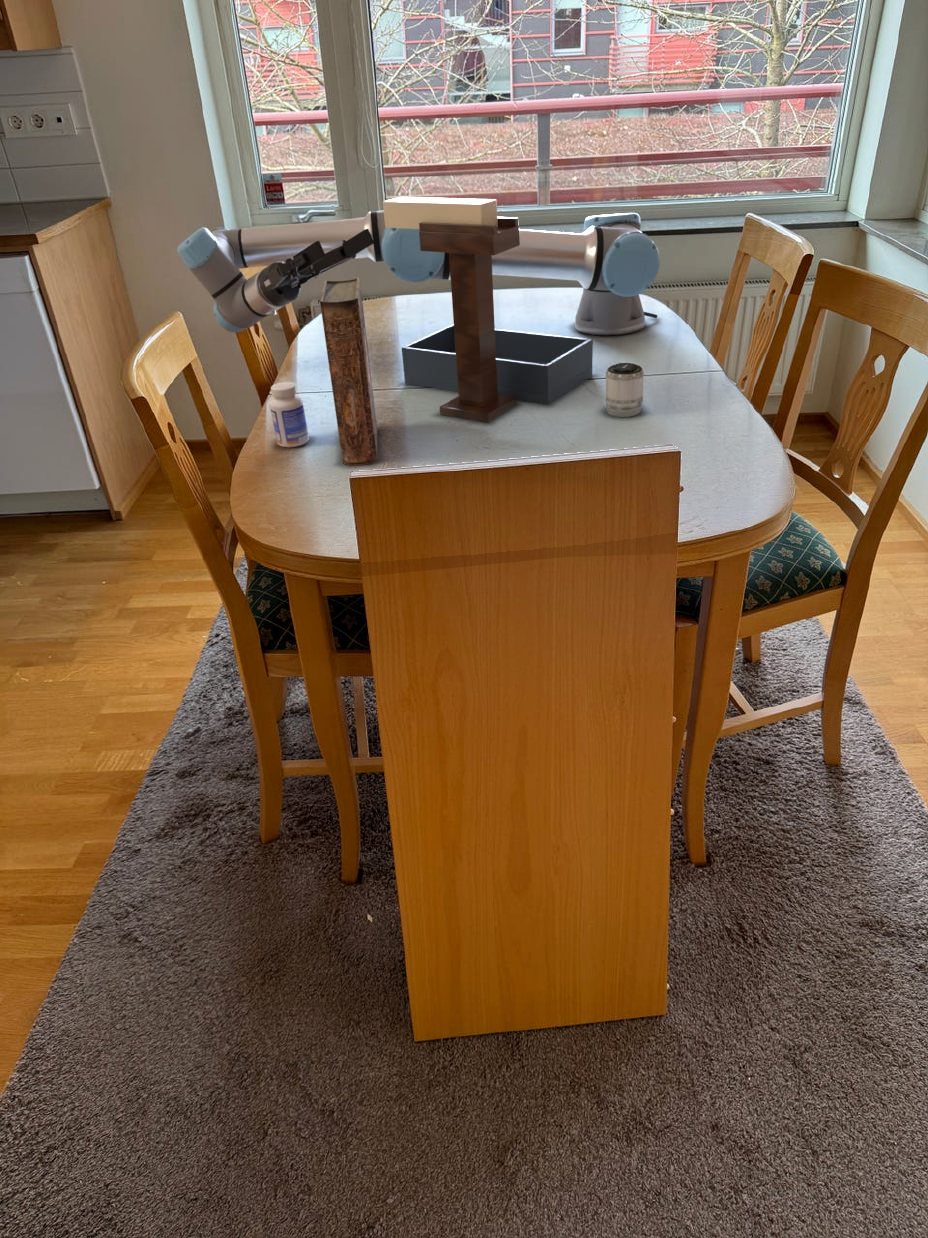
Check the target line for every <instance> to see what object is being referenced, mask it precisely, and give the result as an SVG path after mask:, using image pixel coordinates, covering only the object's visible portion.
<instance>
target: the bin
mask: <svg viewBox="0 0 928 1238" xmlns="http://www.w3.org/2000/svg"><path fill="white" fill-rule="evenodd" d="M593 344H594V339H593V338H584V337H575V336H566V335H556V334H547V333H539V332H530V331H529V332H528V331H519V330H510V329H502V328H501V329H500V328H495V345H496V368H497V390H498V394H504V395H510V396H517V402H526V403H531V404H538V405H545V406H550V405H551V404H552V403H555V401H557V400H559V399H560V398H562V397H563V396H565V395H566V394H568V393H569V392H571V391H572V390H574V389H575V388H577V387H579V386H580V385H581V384H583V383H584V382H585V381H587V380H589V379H590V378H592V377H593V357H594V356H593V353H594V352H593V351H594V349H593V347H594V345H593ZM401 356H402V366H403V377H404V384H405V385H411V386H417V387H423V388H431V389H437V390H444V391H451V392H452V391H453V392H457V393H458V379H457V365H456V350H455V335H454V323H453V324H450V325H447V326H445V327H443V328H442V329H439V330H437V331H435V332H433V333H431V334H428V335H426V336H424V337H422V338H420V339H417V340H415V341H413V342H411V343H408V344H407V345H404V346H403V347H401Z"/></svg>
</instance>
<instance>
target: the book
mask: <svg viewBox="0 0 928 1238" xmlns="http://www.w3.org/2000/svg"><path fill="white" fill-rule="evenodd" d="M319 305H320V312H321V320H322V326H323V332H324V333H323V334H324V341H325V346H326V347H325V348H326V354H327V360H328V369H329V374H330V383H331V389H332V395H333V403H334V411H335V417H336V424H337V425H336V426H337V432H338V439H339V447H340V453H341V461H342V464H343V465H345V466H364V465H370V464H373V463H376V462H377V461H378V424H377V423H378V422H377V414H376V407H375V398H374V397H375V396H374V390H373V380H372V371H371V362H370V356H369V345H368V337H367V328H366V321H365V312H364V303H363V294H362V287H361V279H360V277H358V276H357V277H356V278H354V279H347V280H335V281H333V280H327V279H325V280H324V281H323V285H322V291H321V296H320V300H319Z"/></svg>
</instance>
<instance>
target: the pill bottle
mask: <svg viewBox="0 0 928 1238" xmlns="http://www.w3.org/2000/svg"><path fill="white" fill-rule="evenodd" d="M270 392H271V393H270V394H271V396H272V397H273V398H272V399H271V400H270V402H269V409H270V413H271V418H272V424H273V429H274V435H275V440H276V443H277V445H278V446H280V447H283V448H295V447H300V446H303V445H305V444H307V443H308V441H310V436H309V431H308V430H309V429H308V423H307V420H306V414H305V408H304V407H305V406H304V402H303V399H302V397H301V396H300V395H298V394H297V388H296V384H295V382H291V381H289V382H288V381H284V382H278V383H275V384H273V385H272V386H270Z"/></svg>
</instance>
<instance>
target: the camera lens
mask: <svg viewBox="0 0 928 1238" xmlns="http://www.w3.org/2000/svg"><path fill="white" fill-rule="evenodd" d="M644 377H645V369H644V368H643V367H642V366H641V365H639V364H636V363H633V362H618V363H615V364H613V365H610V366H609V367H608V368H607V370H606V371H605V407H606V412H607V413H608V415H610V416H613V417H618V418H628V417H634V416H637V415H639V414H640V413H641V412H642V409H643V402H644V379H645V378H644Z"/></svg>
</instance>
